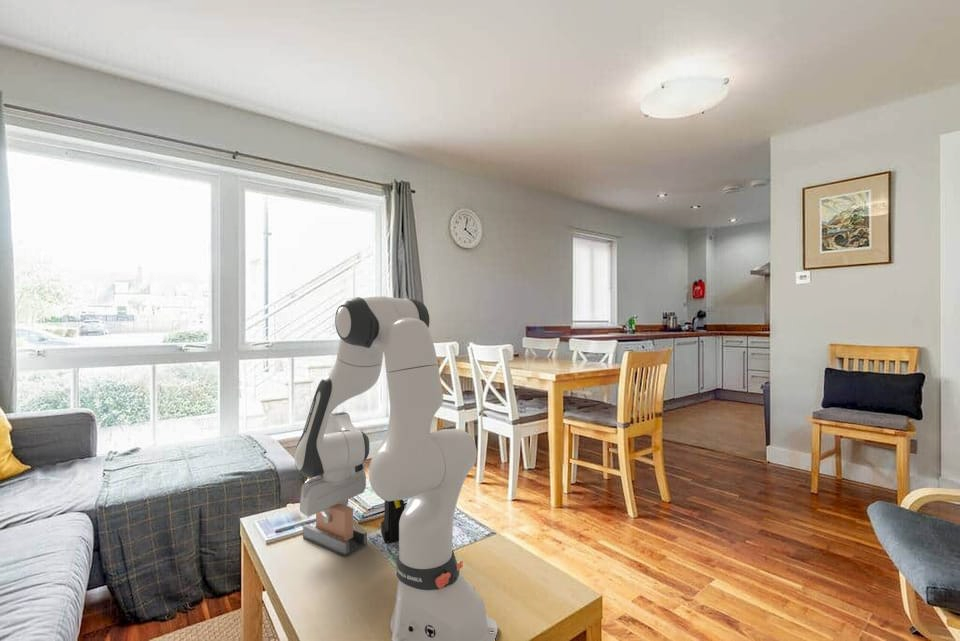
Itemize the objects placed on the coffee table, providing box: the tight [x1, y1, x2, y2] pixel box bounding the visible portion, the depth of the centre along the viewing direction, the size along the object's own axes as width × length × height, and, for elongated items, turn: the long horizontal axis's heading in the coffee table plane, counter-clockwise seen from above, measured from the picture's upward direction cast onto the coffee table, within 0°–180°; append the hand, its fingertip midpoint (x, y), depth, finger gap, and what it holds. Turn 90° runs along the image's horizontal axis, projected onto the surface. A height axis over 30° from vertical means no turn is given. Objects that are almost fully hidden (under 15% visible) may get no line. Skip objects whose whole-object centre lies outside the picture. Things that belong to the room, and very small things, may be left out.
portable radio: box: [380, 500, 406, 543], centre depth 127 cm, size 8×6×25 cm
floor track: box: [302, 523, 368, 558], centre depth 124 cm, size 18×7×4 cm, turn 57°
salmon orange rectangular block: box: [315, 503, 354, 541], centre depth 124 cm, size 12×3×8 cm, turn 57°
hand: (334, 518), depth 124 cm, fingers closed on salmon orange rectangular block, 3 cm apart
